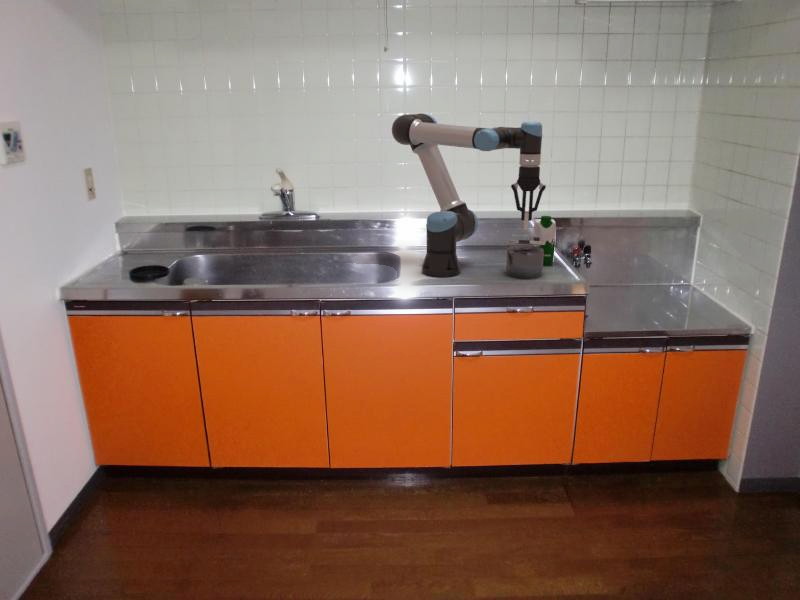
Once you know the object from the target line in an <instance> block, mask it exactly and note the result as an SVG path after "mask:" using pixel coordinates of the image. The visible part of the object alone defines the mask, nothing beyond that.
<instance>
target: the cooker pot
mask: <svg viewBox="0 0 800 600" xmlns="http://www.w3.org/2000/svg"><path fill="white" fill-rule="evenodd" d="M543 256H544V249H542V248H540V247H536V246H533V245H530V244H517V245H510V246H508V247H507V249H506V257H505V258H506V263H505V275H506V276H507V277H509V278H514V279H519V280H535V279H539V278H542V277H543V269H544V268H543V267H544V265H543Z"/></svg>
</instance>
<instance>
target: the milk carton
mask: <svg viewBox="0 0 800 600" xmlns="http://www.w3.org/2000/svg"><path fill="white" fill-rule="evenodd" d="M556 227H557V223H556V221H555V219H553V218H552V216H550V215H541V217H540V218H535V219H534V223H533V229H532V230H533V232H532V233H533V234H532V238H533V237H540V241H543V242H545V245H532V246H536V247H540V248H542V249H544V256H543V266H553V261H554V256H555V248H556V247H555V244H556V229H557V228H556Z"/></svg>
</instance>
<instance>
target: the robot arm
mask: <svg viewBox="0 0 800 600" xmlns="http://www.w3.org/2000/svg"><path fill="white" fill-rule="evenodd" d="M391 133H392V137H393V139H394V140H395V141H396V142H397V143H398V144H400V145H404V146H410V148H411V150H412V153H413V154H416V155H418V159H419V161H420V163H421V165H422V168H423V170H424V172H425V174H426V177H427V180H428V182H429V184H430V186H431V189H432V191H433V193H434V196H435V199H436V200H437V203H438V206H439V208H440V210H439V211H436V212H432V213H430V214H429V215H428V216H427V217H426V226H425V227H426V254H425V257H424V260H423V262H422V266H421V267H422V268H421V273H422V274H423V275H425V276H429V277H435V278H449V277H450V278H451V277H455V276H457V275H459V274H461V265H460V262H459V259H458V255H457V243H458V242H460V241H464V240H467V239H469V238H471V237H473V236H474V235H475V233H476V231H477V229H478V226H479V225H478V224H479V220H478V216H477V215H476V214H475V212H474V211H473V210H471V209H469V208H468V206H467V204H466V201H463V200H461V199H460V197H459V194H458V191H457V190H456V186H455V184H454V182H453V180H452V177H451V175H450V172H449V170H448V168H447V165H446V163H445V161H444V158H443V156H442V153H441V151H440V148H439V146H449V147H455V148H456V147H457V148H465V149H474V150H475V149H476V150H479V151H481V152H492V151H497V150H504V149H517V150H519V162H518V163H519V165H520V166H519V167H518V179H517V180H516V182H515V183H512V184H511V185H510V188H511V189H512V191H513V196H514V201H515V202H514V203H515V206H516V207H515V208H516V210H517V211H519V212H521V214H520V215H521V219H520V220H521V221H523V230H524V231H528V230H529V222H531V221H532V218H533V212H537V210H538V208H539V205H540V202H541V198H542V195H543V192H544V191H545V190H546V187H547V185H546V184H543V183H541V179H540V173H541V172H540V171H541V168H540V165H541V160H542V159H541V158H542V144H543V143H542V141H543V124H542V123H541V122H540V121H539V122H538V121H523V122H522V123H521V124H520V127H510V126H508V127H507V126H495V127H492V128H487V127H475V126H465V125H455V124H444V123H438V122H437V119H436V118H434V117H433V116H432V115H430V114H426V113H416V114H415V113H413V114H406V113H405V114H402V115H400V116H398V117H397V118H396V119H394V121H393V123H392V125H391ZM438 145H439V146H438ZM518 187H519V188H520V190H521V191H522V199H521V203H520V197H519V193H518ZM537 188H538V189H539V191H538V195H537V196H536V197H537V198H536V201H535V204H534V202H533V201H534V192H535V190H537ZM527 192H529V201H528V211H526V204H527V203H526V202H527ZM521 204H522V205H521ZM533 204H534V206H533Z"/></svg>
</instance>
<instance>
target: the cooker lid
mask: <svg viewBox="0 0 800 600" xmlns="http://www.w3.org/2000/svg"><path fill="white" fill-rule="evenodd" d="M506 244H517V245H529V246H533V245H545V242H543V241H540V237H533V236H532V240H525V239H506Z"/></svg>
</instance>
